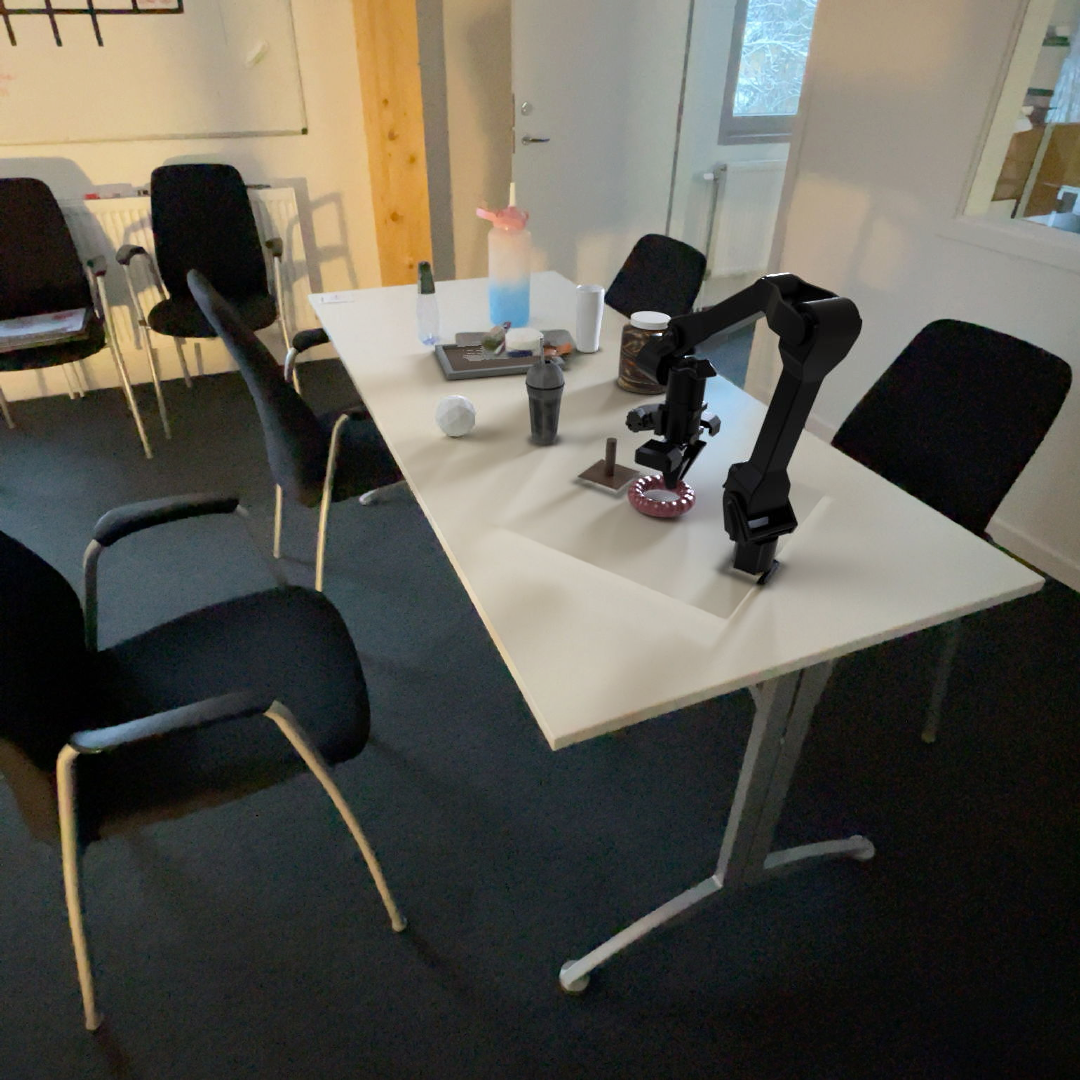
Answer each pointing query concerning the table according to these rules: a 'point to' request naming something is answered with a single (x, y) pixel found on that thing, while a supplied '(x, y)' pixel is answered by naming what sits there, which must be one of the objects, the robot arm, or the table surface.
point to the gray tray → (483, 363)
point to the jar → (632, 342)
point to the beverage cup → (544, 398)
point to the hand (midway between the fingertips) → (673, 485)
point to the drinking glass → (588, 316)
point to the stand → (609, 469)
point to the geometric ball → (455, 415)
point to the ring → (660, 507)
